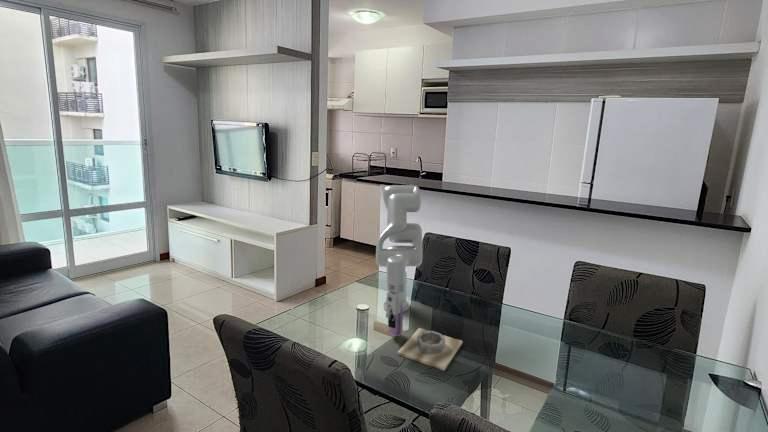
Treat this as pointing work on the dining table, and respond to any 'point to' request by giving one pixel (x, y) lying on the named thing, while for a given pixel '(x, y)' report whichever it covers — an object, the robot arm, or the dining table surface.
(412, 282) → the dining table surface
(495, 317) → the dining table surface
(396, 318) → the beverage can
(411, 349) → the rosette socket
